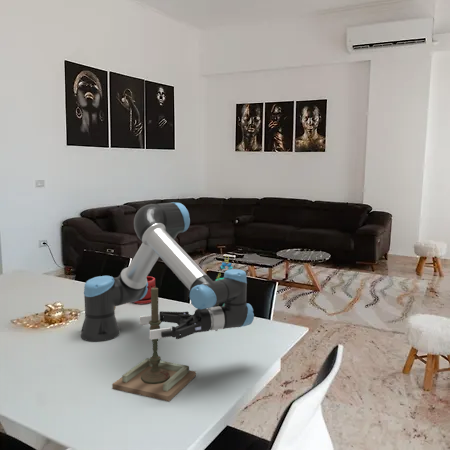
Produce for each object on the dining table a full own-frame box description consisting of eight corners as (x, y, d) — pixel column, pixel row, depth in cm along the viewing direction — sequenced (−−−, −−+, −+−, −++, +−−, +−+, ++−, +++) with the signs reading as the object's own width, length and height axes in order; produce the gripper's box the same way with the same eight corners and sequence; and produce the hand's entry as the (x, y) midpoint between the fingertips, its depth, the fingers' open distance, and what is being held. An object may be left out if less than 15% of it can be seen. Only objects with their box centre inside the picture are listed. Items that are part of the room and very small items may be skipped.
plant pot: (142, 296, 242) (142, 274, 241) (160, 300, 234) (160, 278, 233) (123, 302, 232) (123, 279, 230) (142, 307, 224) (141, 283, 222)
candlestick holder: (164, 385, 141) (163, 290, 137) (136, 382, 143) (135, 288, 139) (173, 372, 150) (173, 283, 146) (147, 369, 151) (146, 281, 148)
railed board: (112, 388, 142) (112, 377, 141) (143, 365, 158) (143, 355, 158) (169, 401, 134) (169, 390, 134) (195, 375, 151) (195, 365, 150)
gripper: (222, 343, 140) (154, 354, 132) (195, 318, 163) (136, 326, 155) (222, 320, 139) (154, 329, 131) (195, 298, 162) (136, 304, 154)
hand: (144, 327), depth 143 cm, fingers open, 13 cm apart
